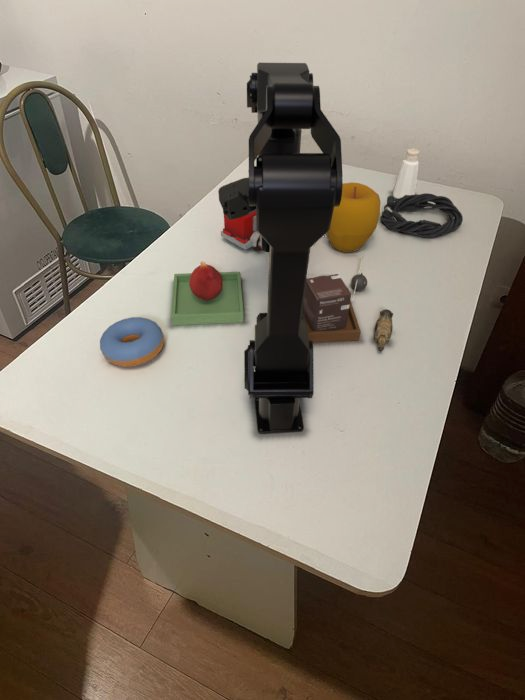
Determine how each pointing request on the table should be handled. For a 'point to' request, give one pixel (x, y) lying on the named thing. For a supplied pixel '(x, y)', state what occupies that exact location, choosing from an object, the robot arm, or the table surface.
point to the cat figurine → (383, 328)
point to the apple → (354, 217)
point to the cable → (420, 203)
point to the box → (326, 303)
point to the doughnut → (143, 338)
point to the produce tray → (207, 302)
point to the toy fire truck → (242, 231)
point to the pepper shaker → (407, 175)
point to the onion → (206, 282)
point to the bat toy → (359, 281)
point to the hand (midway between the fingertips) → (275, 258)
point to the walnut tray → (337, 331)
